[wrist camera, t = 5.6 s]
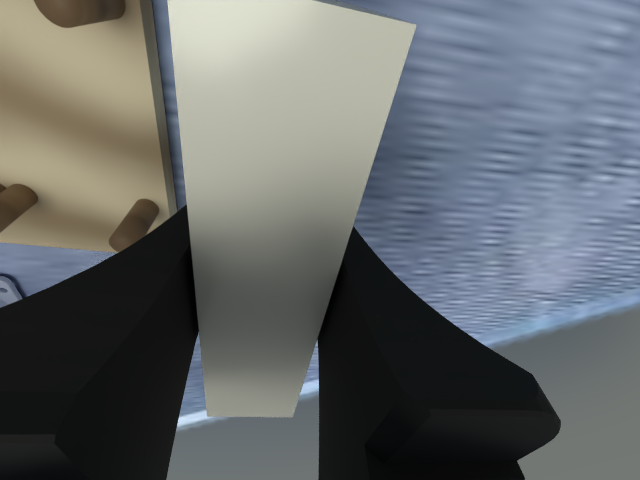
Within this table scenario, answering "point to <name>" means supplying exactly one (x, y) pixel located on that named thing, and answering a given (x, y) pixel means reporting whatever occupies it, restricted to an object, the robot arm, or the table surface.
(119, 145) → the peg rack
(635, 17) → the table surface
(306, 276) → the clay bar
